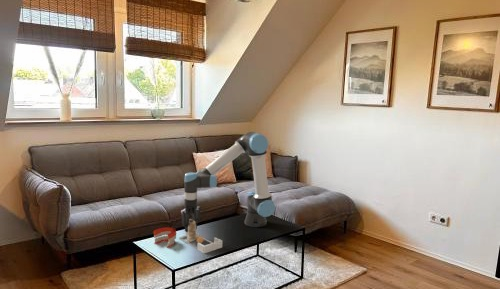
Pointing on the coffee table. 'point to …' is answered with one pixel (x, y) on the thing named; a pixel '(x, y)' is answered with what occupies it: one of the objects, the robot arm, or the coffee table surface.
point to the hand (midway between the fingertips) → (190, 235)
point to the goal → (210, 246)
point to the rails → (190, 243)
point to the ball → (199, 240)
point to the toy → (165, 231)
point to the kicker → (192, 231)
